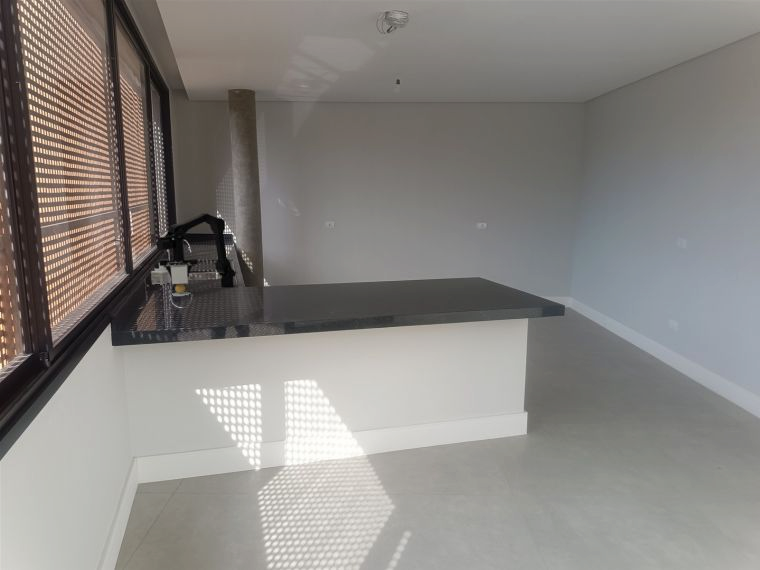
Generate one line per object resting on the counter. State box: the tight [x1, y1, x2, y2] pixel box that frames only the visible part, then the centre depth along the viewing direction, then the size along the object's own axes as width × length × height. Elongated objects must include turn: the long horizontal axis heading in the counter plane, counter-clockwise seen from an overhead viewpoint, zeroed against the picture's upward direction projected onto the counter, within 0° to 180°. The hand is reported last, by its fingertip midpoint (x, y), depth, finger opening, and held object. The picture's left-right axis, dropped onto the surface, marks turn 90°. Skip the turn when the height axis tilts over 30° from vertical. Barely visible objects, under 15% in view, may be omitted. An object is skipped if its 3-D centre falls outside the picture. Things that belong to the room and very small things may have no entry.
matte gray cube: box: [170, 264, 189, 285], centre depth 279 cm, size 8×8×9 cm
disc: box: [171, 291, 191, 297], centre depth 281 cm, size 10×10×1 cm
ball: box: [174, 283, 186, 293], centre depth 283 cm, size 5×5×5 cm
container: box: [150, 261, 172, 286], centre depth 311 cm, size 8×8×13 cm
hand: (179, 277), depth 280 cm, fingers closed on matte gray cube, 8 cm apart
